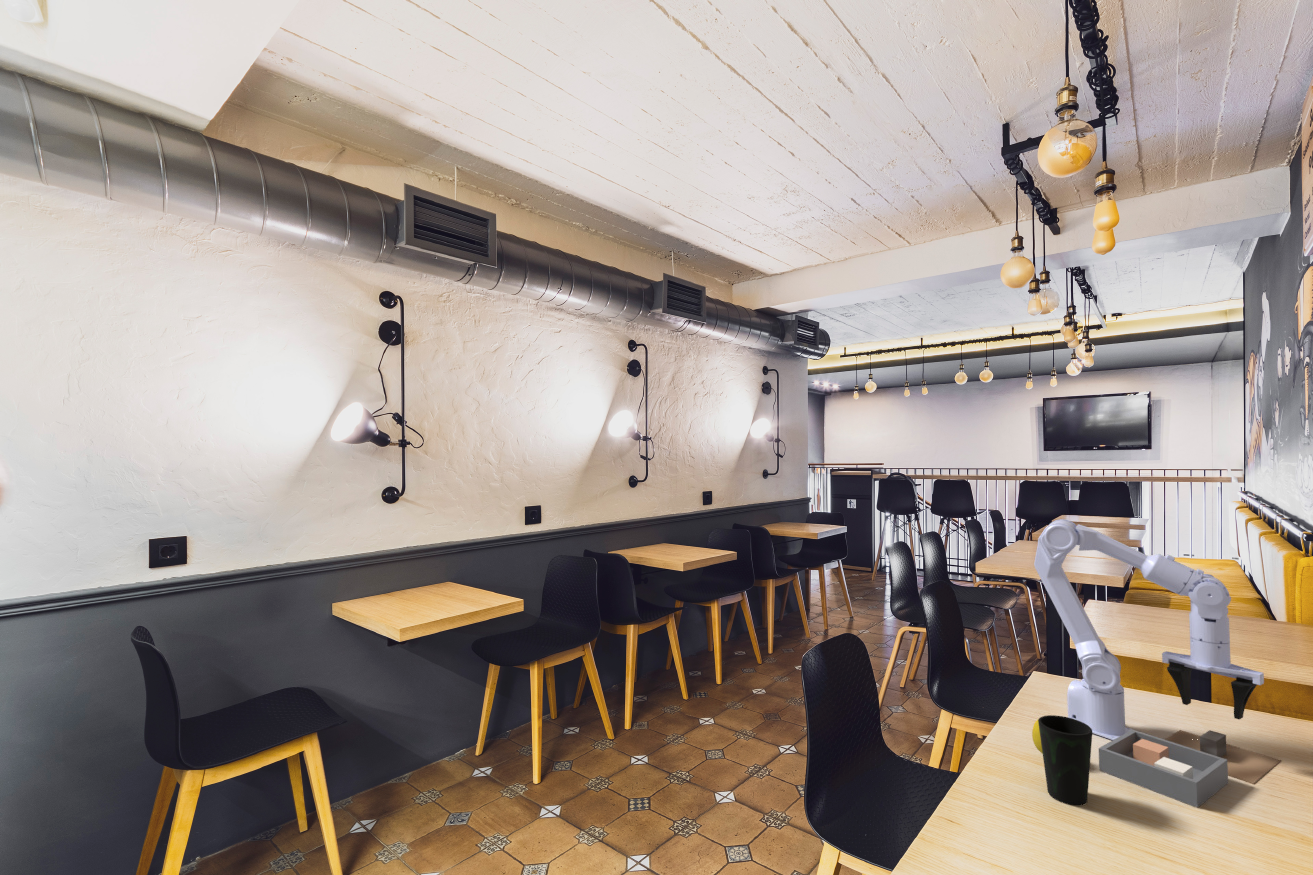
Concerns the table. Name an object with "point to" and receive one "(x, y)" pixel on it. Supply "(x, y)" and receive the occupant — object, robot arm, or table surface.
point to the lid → (1228, 754)
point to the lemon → (1037, 736)
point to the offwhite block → (1175, 767)
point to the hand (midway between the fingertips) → (1212, 710)
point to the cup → (1066, 758)
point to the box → (1206, 770)
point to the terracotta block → (1149, 751)
